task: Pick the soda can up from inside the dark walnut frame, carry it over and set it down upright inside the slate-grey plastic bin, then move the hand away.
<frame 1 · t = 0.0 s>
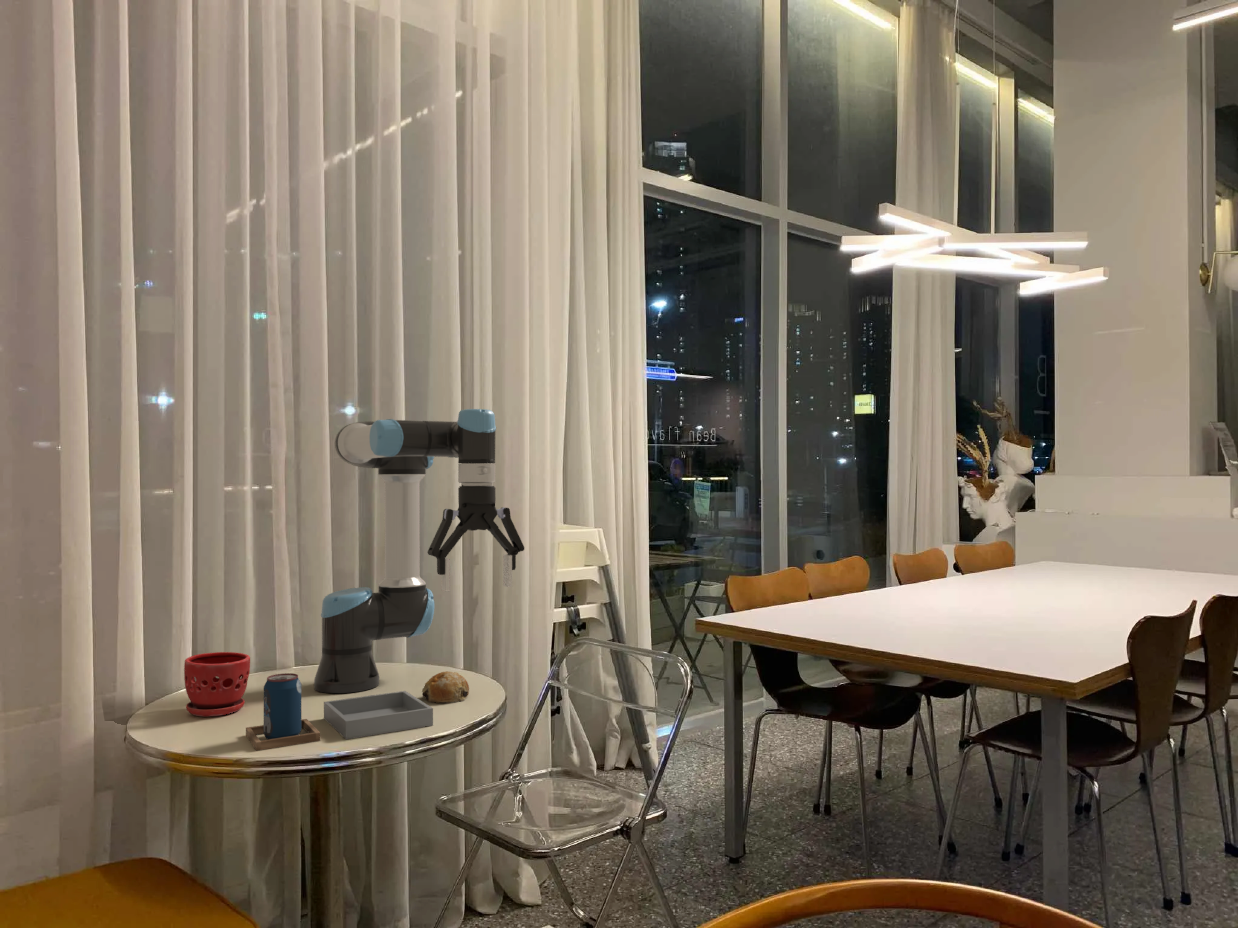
hand: (477, 588, 180), 28 cm above the table, tool pointing down, fingers open, 13 cm apart
bread roll: (445, 699, 203), on the table
plant pot: (217, 712, 192), on the table
soda can: (282, 738, 173), resting in walnut frame
grey bin: (377, 721, 184), on the table
walnut frame: (282, 737, 173), on the table
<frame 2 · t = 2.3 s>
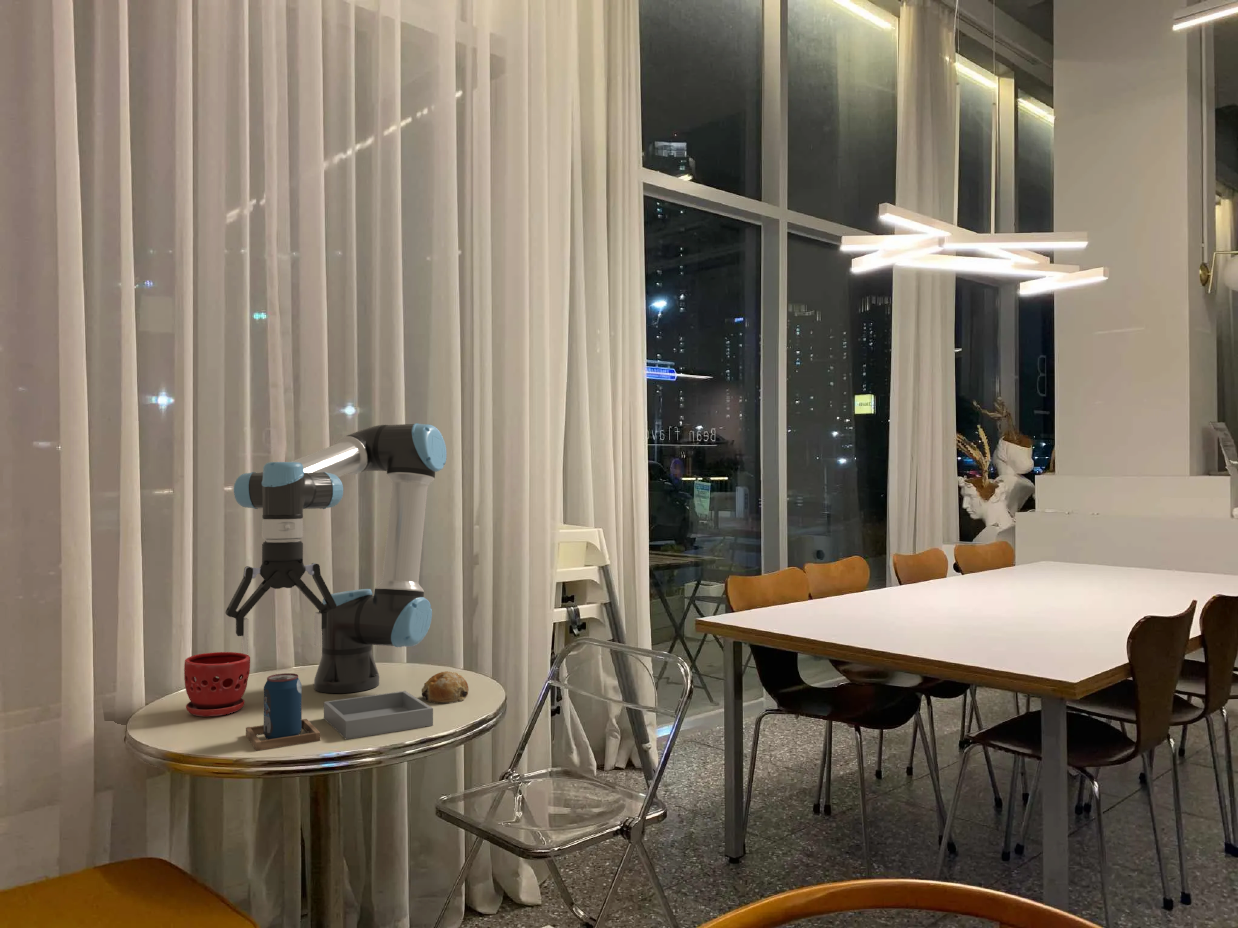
hand: (282, 649, 173), 17 cm above the table, tool pointing down, fingers open, 13 cm apart
nothing on the table moved.
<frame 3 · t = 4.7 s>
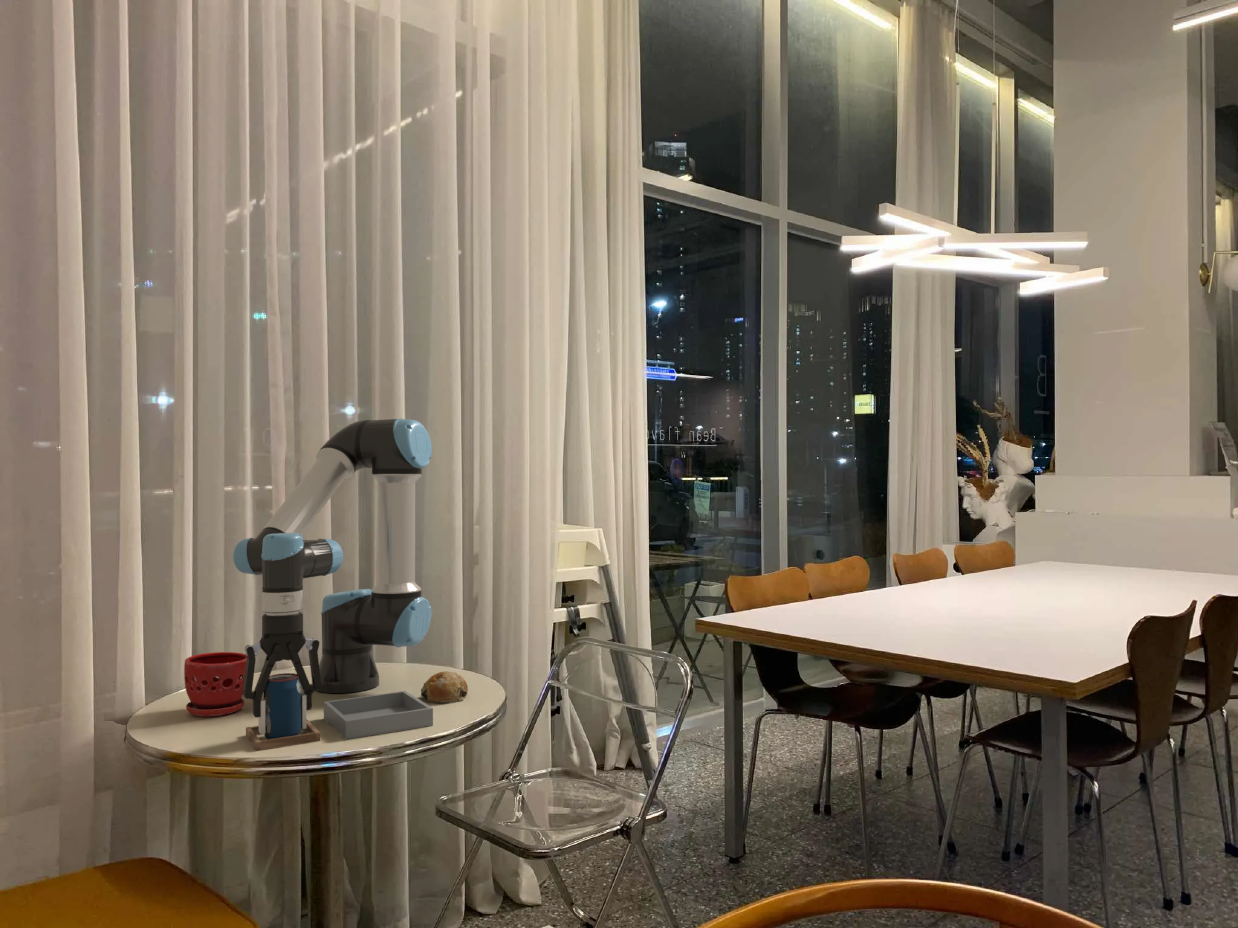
hand: (282, 729, 173), 2 cm above the table, tool pointing down, fingers closed on soda can, 7 cm apart
soda can: (282, 738, 173), resting in walnut frame, touching gripper
everything else where it was.
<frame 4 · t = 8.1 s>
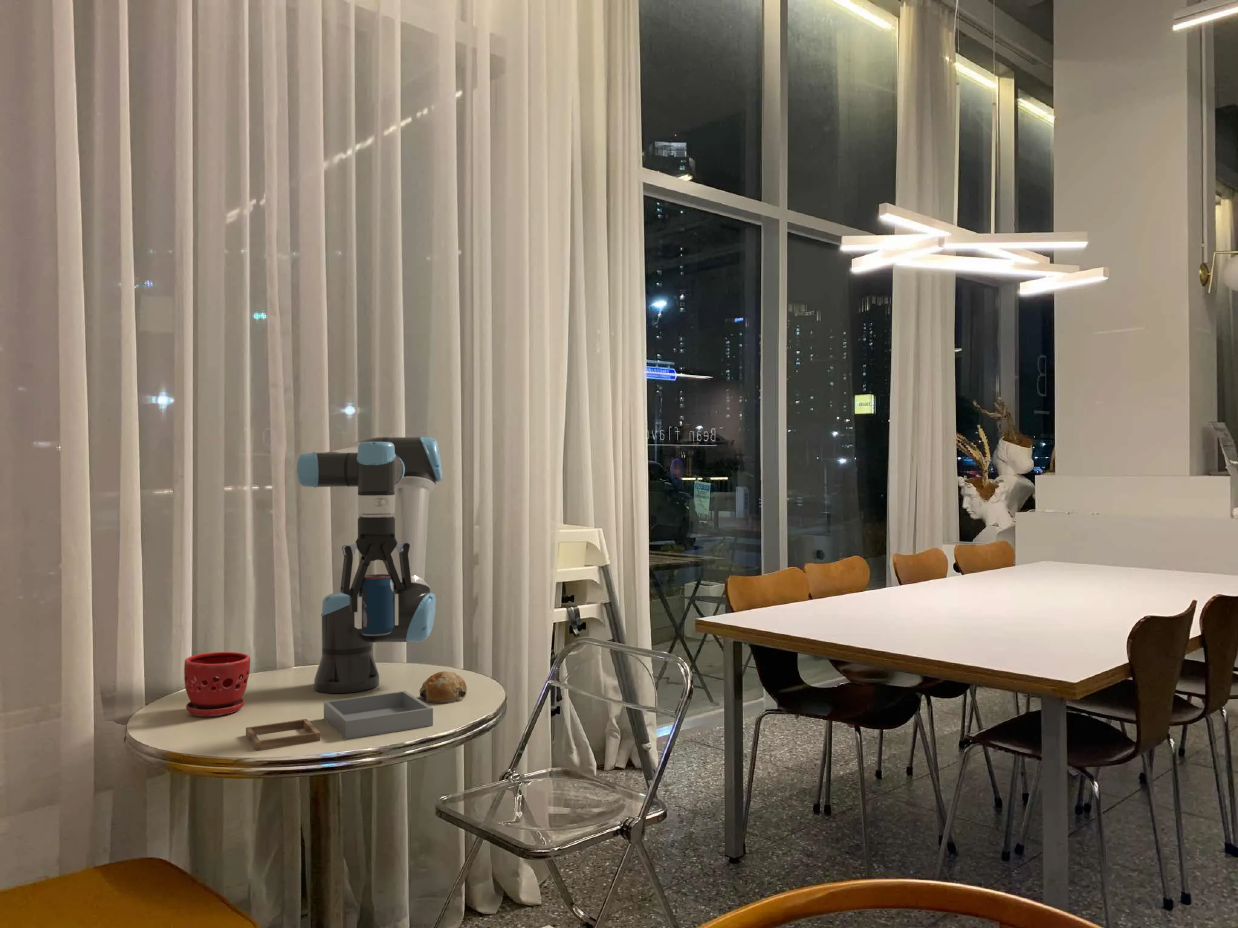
hand: (376, 625, 184), 20 cm above the table, tool pointing down, fingers closed on soda can, 7 cm apart
soda can: (376, 634, 184), point 18 cm above the table, touching gripper
everything else where it was.
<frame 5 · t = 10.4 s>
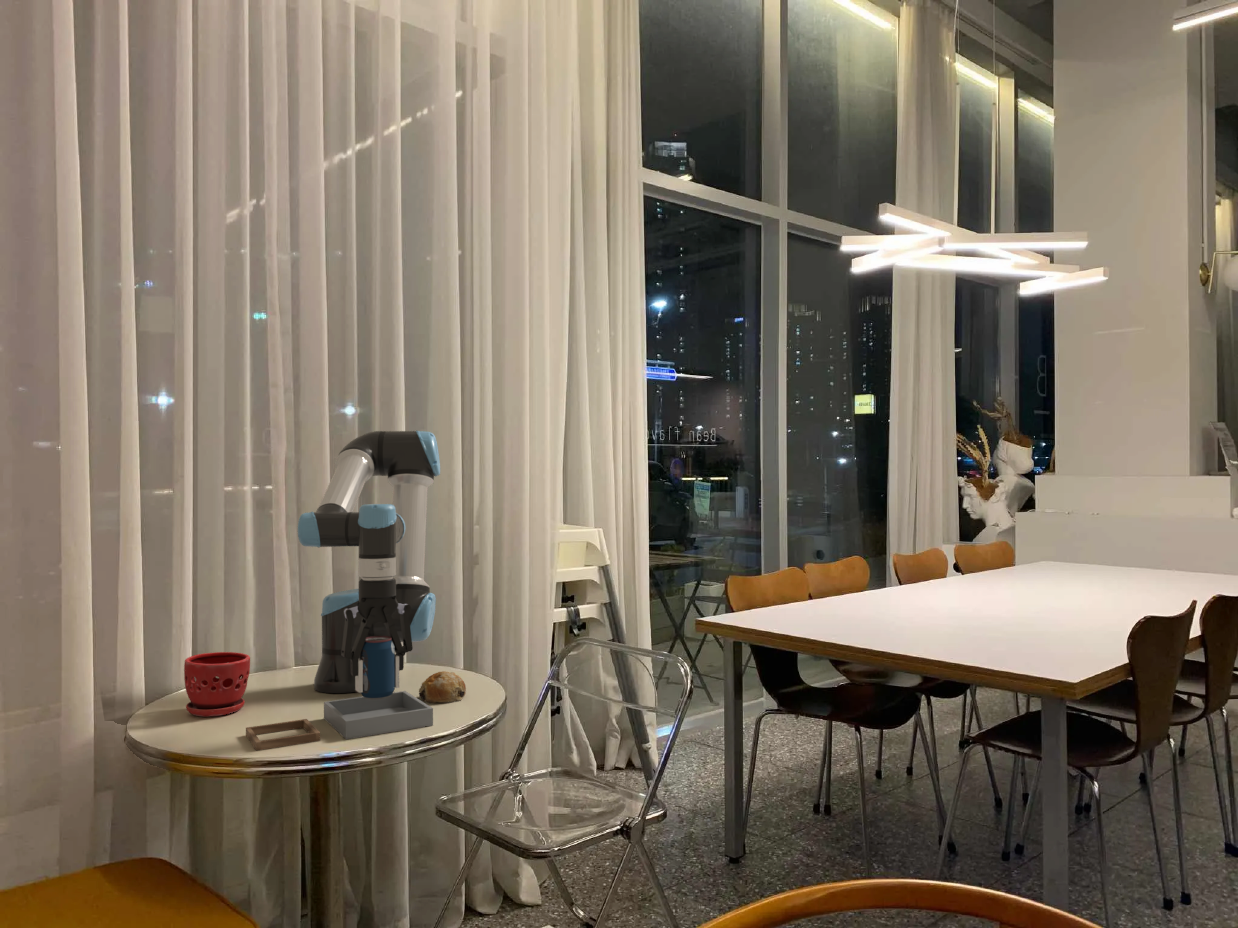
hand: (377, 688, 183), 7 cm above the table, tool pointing down, fingers closed on soda can, 7 cm apart
soda can: (377, 697, 183), point 5 cm above the table, touching gripper
everything else where it was.
when the fingers open (3 cm above the table, at t = 12.0 s): soda can drops 1 cm, resting on grey bin.
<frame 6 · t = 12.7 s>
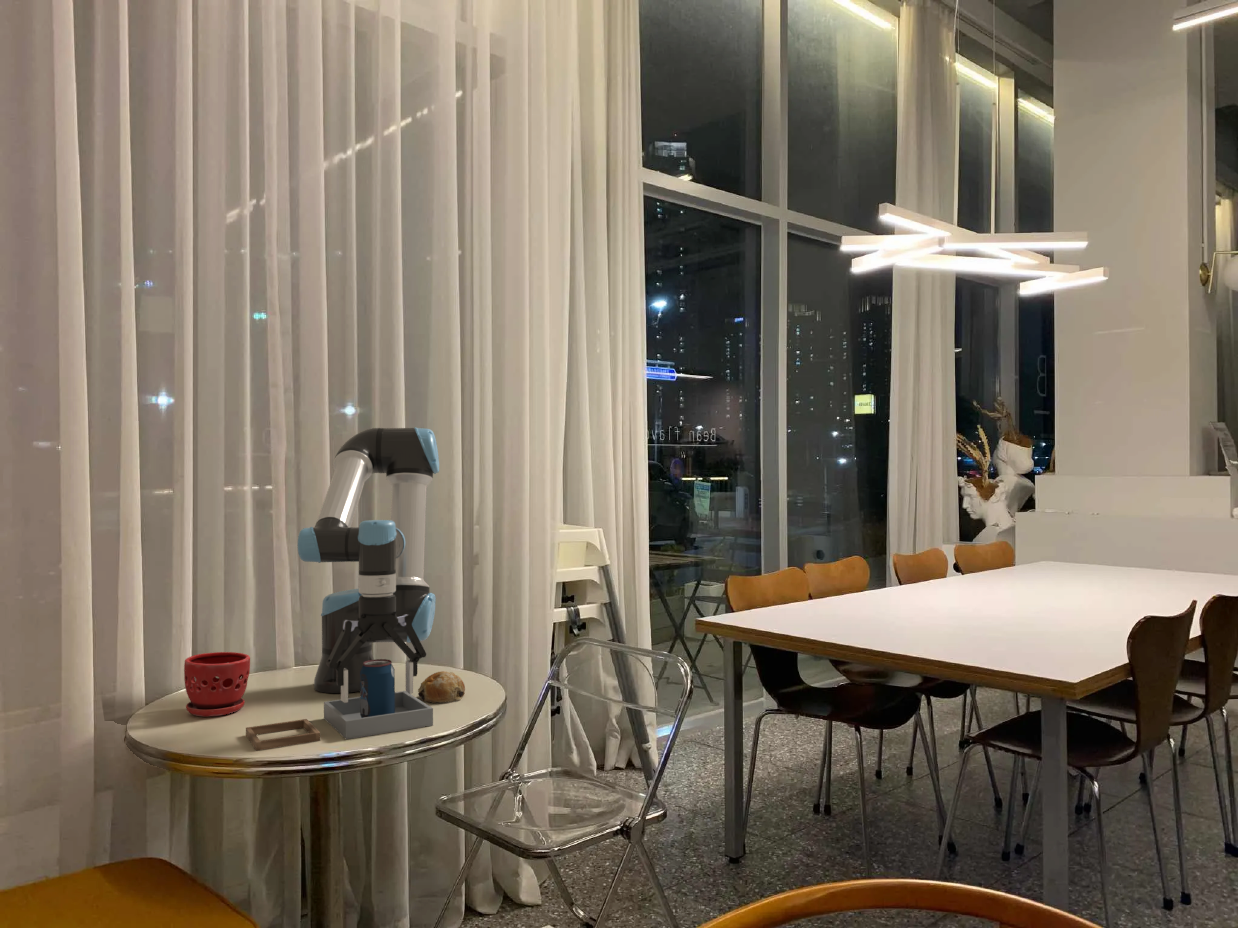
hand: (377, 696, 184), 5 cm above the table, tool pointing down, fingers open, 13 cm apart
soda can: (377, 720, 184), resting on grey bin
everything else where it was.
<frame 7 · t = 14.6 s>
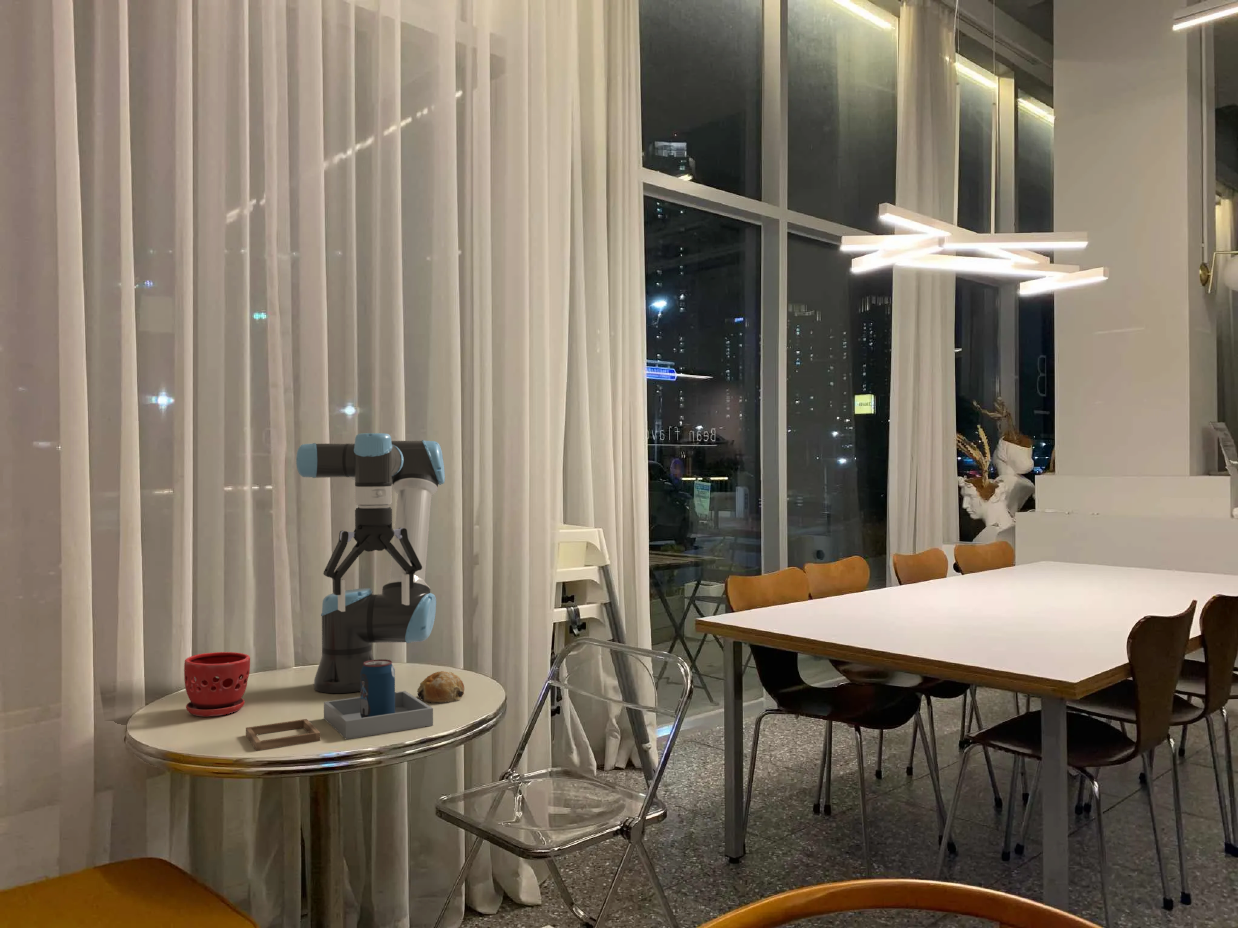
hand: (374, 607, 186), 23 cm above the table, tool pointing down, fingers open, 13 cm apart
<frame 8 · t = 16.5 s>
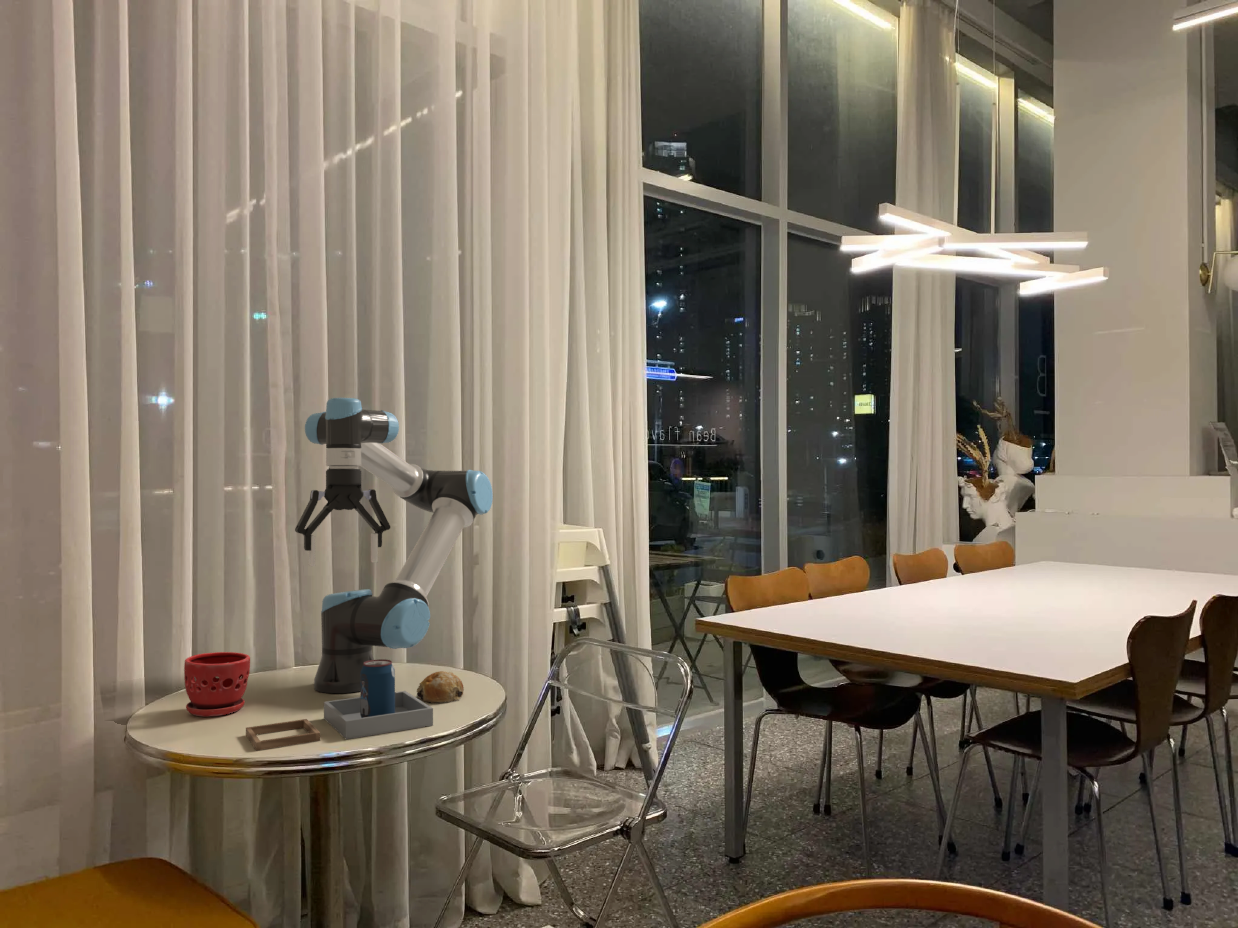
hand: (343, 564, 195), 32 cm above the table, tool pointing down, fingers open, 13 cm apart
at the end: soda can inside the target area on the grey bin (0.0 cm from its centre), point 0.2 cm above the grey bin's base; soda can tilted 0°; the gripper is holding nothing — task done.
